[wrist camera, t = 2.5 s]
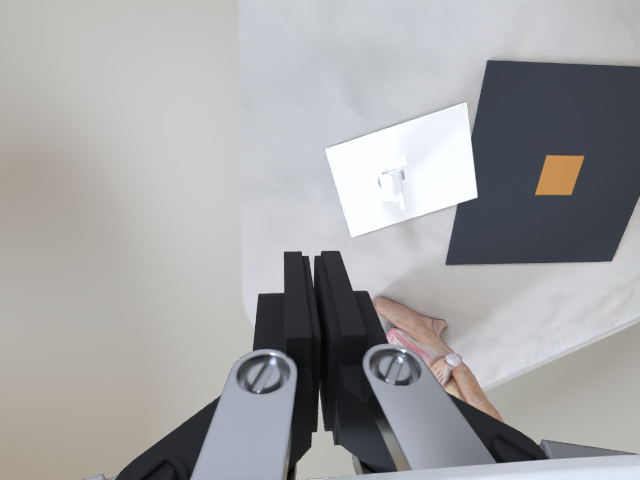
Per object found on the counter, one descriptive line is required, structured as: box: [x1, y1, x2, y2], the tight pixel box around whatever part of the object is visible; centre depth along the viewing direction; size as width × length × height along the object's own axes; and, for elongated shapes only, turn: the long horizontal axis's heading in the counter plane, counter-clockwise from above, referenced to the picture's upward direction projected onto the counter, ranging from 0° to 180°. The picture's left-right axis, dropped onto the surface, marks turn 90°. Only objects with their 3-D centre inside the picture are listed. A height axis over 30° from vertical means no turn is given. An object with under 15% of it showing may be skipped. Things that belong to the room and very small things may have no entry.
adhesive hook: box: [375, 154, 411, 210], centre depth 24 cm, size 3×3×3 cm
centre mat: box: [446, 60, 640, 265], centre depth 27 cm, size 15×15×1 cm
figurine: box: [373, 297, 504, 423], centre depth 23 cm, size 10×8×20 cm
